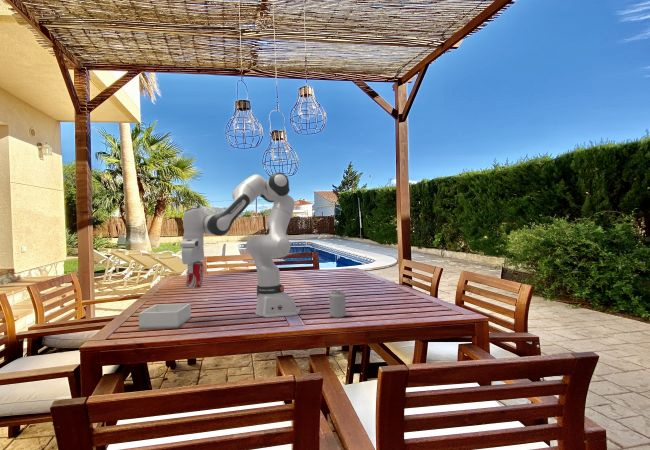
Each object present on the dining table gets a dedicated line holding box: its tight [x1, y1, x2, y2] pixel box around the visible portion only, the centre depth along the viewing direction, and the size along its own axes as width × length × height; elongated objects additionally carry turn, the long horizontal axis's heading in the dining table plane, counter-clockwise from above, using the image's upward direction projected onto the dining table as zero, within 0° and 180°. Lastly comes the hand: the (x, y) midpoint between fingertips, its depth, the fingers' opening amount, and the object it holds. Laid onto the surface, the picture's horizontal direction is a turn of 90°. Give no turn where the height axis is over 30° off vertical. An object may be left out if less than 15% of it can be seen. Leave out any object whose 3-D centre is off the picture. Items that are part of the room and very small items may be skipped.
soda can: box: [185, 261, 205, 290], centre depth 175 cm, size 7×7×12 cm
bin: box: [138, 303, 192, 330], centre depth 174 cm, size 17×17×7 cm
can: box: [329, 289, 347, 319], centre depth 179 cm, size 8×8×12 cm
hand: (194, 271), depth 175 cm, fingers closed on soda can, 7 cm apart
